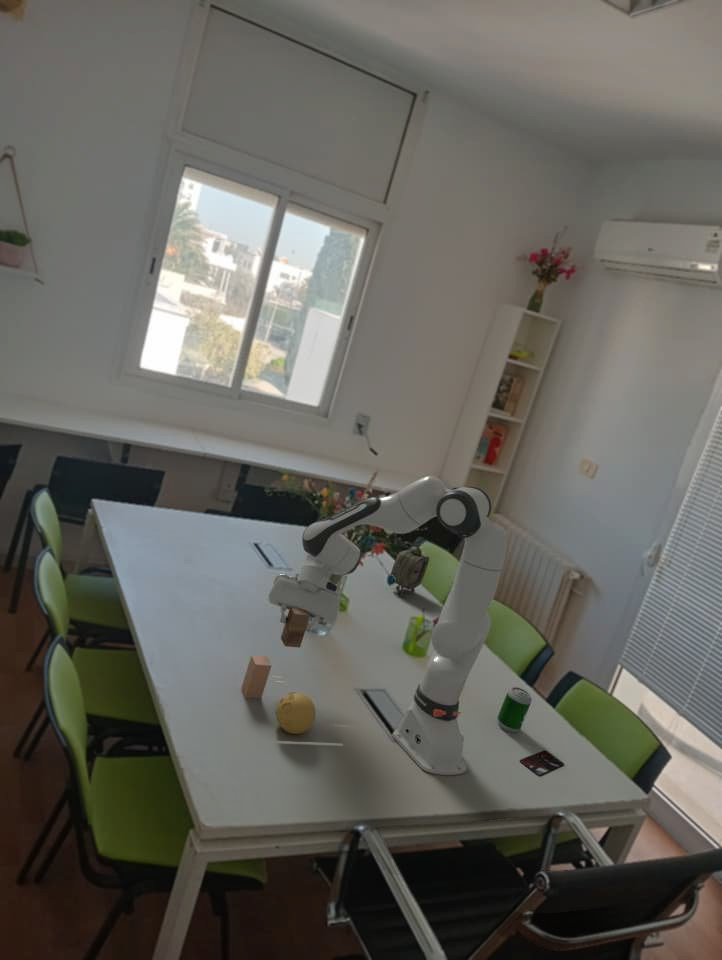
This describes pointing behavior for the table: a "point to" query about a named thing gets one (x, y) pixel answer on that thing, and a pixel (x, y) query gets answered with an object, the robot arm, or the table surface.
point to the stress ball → (296, 713)
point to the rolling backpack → (410, 568)
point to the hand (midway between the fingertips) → (295, 626)
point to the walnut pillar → (295, 627)
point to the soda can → (514, 709)
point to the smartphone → (541, 763)
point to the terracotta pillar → (256, 677)
